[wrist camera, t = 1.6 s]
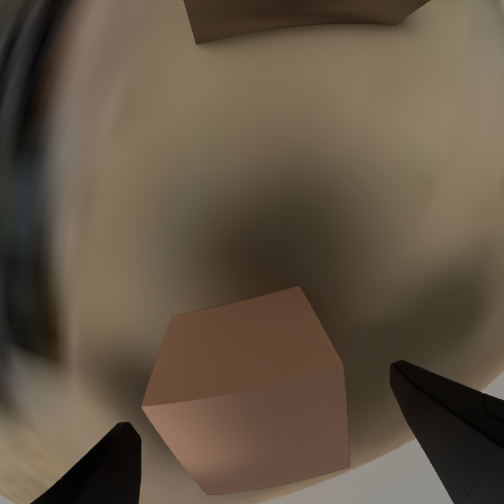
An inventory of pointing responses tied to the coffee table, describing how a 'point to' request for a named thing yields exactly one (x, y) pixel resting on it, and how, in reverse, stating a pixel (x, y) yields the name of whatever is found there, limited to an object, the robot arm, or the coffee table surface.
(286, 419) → the terracotta cube
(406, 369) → the robot arm
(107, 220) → the coffee table surface
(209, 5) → the walnut base block
